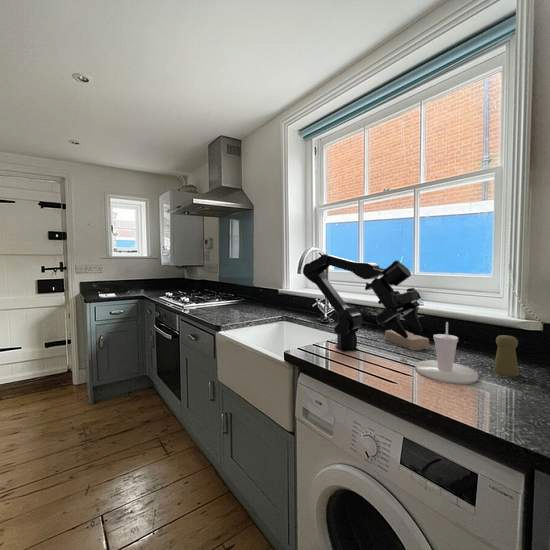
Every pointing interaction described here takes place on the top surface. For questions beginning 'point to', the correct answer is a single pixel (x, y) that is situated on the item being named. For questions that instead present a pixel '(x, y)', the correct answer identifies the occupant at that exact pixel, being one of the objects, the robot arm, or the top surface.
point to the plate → (446, 373)
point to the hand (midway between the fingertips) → (414, 334)
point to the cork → (506, 356)
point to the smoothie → (445, 350)
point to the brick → (407, 340)
